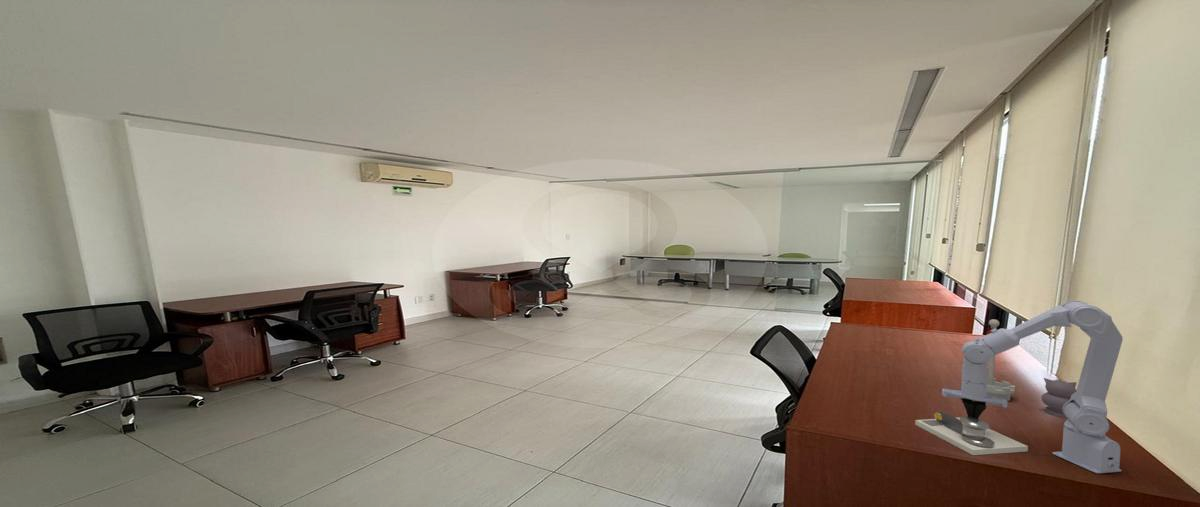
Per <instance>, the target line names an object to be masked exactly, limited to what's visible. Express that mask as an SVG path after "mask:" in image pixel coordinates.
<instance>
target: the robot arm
mask: <svg viewBox="0 0 1200 507" xmlns="http://www.w3.org/2000/svg"><path fill="white" fill-rule="evenodd" d="M1071 324H1073V325H1075V326H1076V327H1078V328H1079V329H1080V330H1081V331H1082V332H1083V333H1085V335H1087V336H1088V337H1089V338H1090V341H1089V343H1088V348H1087V350H1086V354H1085V357H1084V361H1083V365H1082V368H1081V373H1080V376H1079V379H1078V384H1077V385H1076V386H1077V387H1076V392H1075V393H1073V394H1072V395H1071V398H1070V400H1069V401H1068V402H1067V403H1065V404H1064V405H1063V408H1062V410H1063V413H1064V415H1065V416H1066V417H1067V418H1066V421H1065V422H1064V423H1063V428H1062V429H1063V430H1062V445H1061V446H1062V447H1061V451H1053V452H1052V455H1054V456H1057V457H1059V458H1062V459H1064V460H1065V461H1068V462H1070V463H1072V464H1074V465H1077V466H1078V467H1081V468H1083V469H1085V470H1088V471H1090V472H1093V473H1095V474H1106V473H1119V472H1122V469H1120V463H1121V462H1120V460H1121V445H1120V443H1118V442H1117V441H1115V440H1113V439H1112V438H1109V437H1108V436H1107V435H1106V433H1108V431H1109V430H1110V422H1109V421H1108V418H1107V416H1108V408H1107V405H1106V398H1107V395H1108V392H1109V389H1110V385H1111V383H1112V378H1113V375H1114V371H1115V367H1116V364H1117V360H1118V358H1119V355H1120V350H1121V348H1122V344H1123V340H1124V339H1123V336H1122V334H1121V332H1120V331H1119V329H1118V327H1117V326H1116V324H1115V323H1114V321H1113V318H1112V316H1111V315H1109V314H1108V313H1107V312H1105V311H1104V310H1103V309H1101V308H1099V307H1098V306H1095V305H1090V304H1088V303H1086V302H1084V301H1081V300H1069V301H1066V302H1064V303H1063V304H1062V305H1057V306H1053V307H1051V308H1049V309H1047V310H1046V311H1044V312H1042V313H1040V314H1038V315H1036V316H1034V317H1032V318H1030V319H1028V320H1026V321H1024V322H1022V323H1020V324H1018V325H1017V326H1014V327H1012V328H1011V329H1009V328H1001V327H1000V328H999V329H993V330H991V331H992V333H990V334H988V335H987V334H986V335H984V336H981V337H975V338H974V340H970V341H966V342H965V343H964V344H963V345H962V347H961V348H960V349H961V352H962V354H963V359H962V362H963V363H962V365H961V366H962V367H961V387H960V389H961V390H960V389H948V388H941V390H942V391H941V396H943V397H945V398H947V397H949V398H955V399H960V400H961V402H962V404H963V406H964V408H965V411H966V415H967V417H971V418H976V419H980V416H981V414H982V413H983V412H984V411H985V410H986V409H987V404H988V405H993V406H1000V407H1002V408H1008V401H1006V399H1001V398H996V397H992V396H988V395H987V377H988V375H989V367H988V363H989V360H990V359H991V356H995V357H996V356H997V355H999V354H1001V353H1003V352H1006V351H1010V350H1011V349H1013V348H1016V347H1018V346H1019V345H1020V341H1021V339H1023V338H1024V339H1025V338H1027V337H1029V336H1030V337H1031V336H1032V335H1034V334H1036V333H1039V332H1042V331H1045V330H1047V329H1049V328H1052V327H1059V328H1060V327H1061V328H1062V327H1064V328H1072V325H1071Z"/></svg>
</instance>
